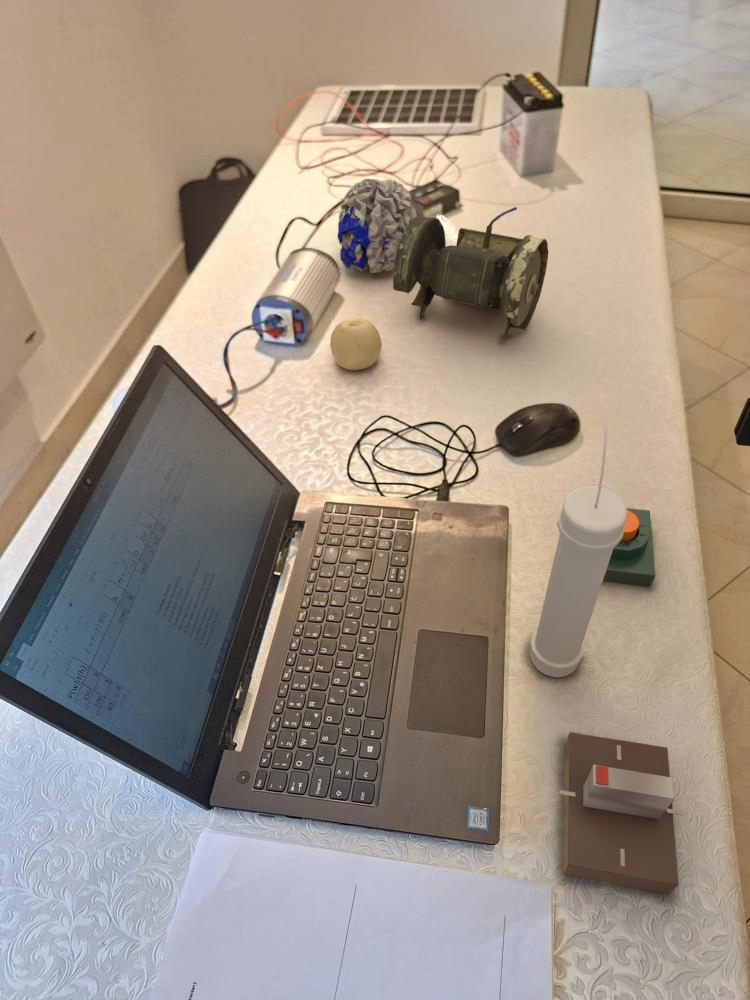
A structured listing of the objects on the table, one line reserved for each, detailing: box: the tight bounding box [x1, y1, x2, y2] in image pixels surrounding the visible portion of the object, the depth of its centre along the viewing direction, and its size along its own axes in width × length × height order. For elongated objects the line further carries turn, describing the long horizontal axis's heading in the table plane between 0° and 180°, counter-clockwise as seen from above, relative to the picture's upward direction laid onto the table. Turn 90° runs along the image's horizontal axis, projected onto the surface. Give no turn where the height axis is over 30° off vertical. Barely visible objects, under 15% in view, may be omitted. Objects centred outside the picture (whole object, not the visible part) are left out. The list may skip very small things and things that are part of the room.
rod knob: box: [583, 765, 675, 819], centre depth 63 cm, size 6×2×5 cm, turn 79°
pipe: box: [529, 427, 627, 678], centre depth 67 cm, size 6×6×30 cm
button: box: [620, 510, 639, 542], centre depth 84 cm, size 4×4×2 cm
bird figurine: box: [435, 213, 459, 246], centre depth 134 cm, size 5×7×10 cm
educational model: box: [336, 178, 418, 274], centre depth 132 cm, size 14×20×15 cm
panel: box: [558, 731, 685, 896], centre depth 66 cm, size 12×11×3 cm
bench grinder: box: [392, 206, 549, 339], centre depth 116 cm, size 20×22×20 cm
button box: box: [603, 507, 656, 588], centre depth 86 cm, size 10×8×4 cm
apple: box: [329, 318, 382, 371], centre depth 112 cm, size 8×8×8 cm
